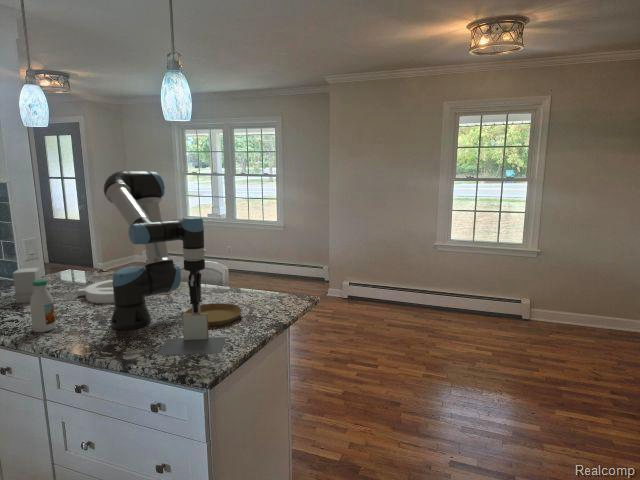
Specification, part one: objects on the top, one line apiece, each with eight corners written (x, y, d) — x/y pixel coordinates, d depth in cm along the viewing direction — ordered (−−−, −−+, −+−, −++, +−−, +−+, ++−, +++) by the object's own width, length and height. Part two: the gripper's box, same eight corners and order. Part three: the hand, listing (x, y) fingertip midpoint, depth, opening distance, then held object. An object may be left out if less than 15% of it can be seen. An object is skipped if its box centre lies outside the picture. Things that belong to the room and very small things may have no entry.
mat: (156, 356, 143) (156, 355, 142) (167, 339, 156) (167, 338, 156) (221, 354, 145) (221, 353, 145) (226, 338, 158) (226, 337, 158)
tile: (183, 340, 155) (182, 315, 153) (184, 339, 156) (183, 313, 154) (207, 339, 156) (207, 314, 154) (208, 338, 157) (207, 313, 155)
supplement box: (43, 296, 206) (40, 267, 203) (37, 301, 198) (34, 271, 195) (22, 297, 203) (19, 268, 201) (15, 303, 195) (12, 272, 192)
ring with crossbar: (158, 292, 215) (157, 284, 215) (106, 307, 192) (105, 297, 191) (126, 284, 230) (125, 276, 229) (74, 297, 207) (73, 287, 206)
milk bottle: (38, 334, 160) (33, 284, 156) (29, 330, 164) (23, 281, 160) (59, 328, 166) (55, 280, 163) (50, 324, 170) (45, 277, 167)
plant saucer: (198, 308, 192) (197, 301, 192) (248, 310, 190) (248, 304, 189) (174, 327, 169) (174, 319, 168) (231, 331, 166) (231, 323, 166)
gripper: (201, 262, 147) (204, 325, 151) (207, 255, 159) (209, 313, 163) (179, 262, 146) (182, 326, 150) (187, 255, 159) (190, 314, 163)
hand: (196, 319), depth 157 cm, fingers closed
